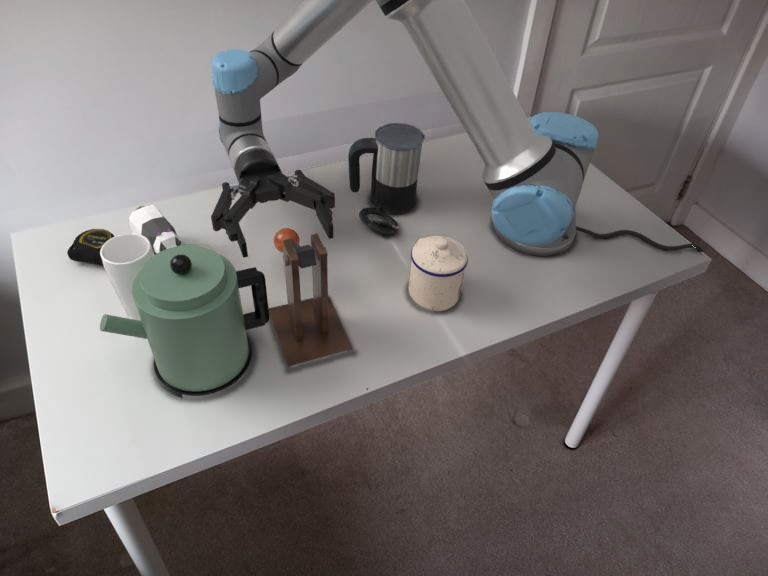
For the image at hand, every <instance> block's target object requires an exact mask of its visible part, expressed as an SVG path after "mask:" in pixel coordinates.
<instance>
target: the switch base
mask: <svg viewBox="0 0 768 576" xmlns="http://www.w3.org/2000/svg"><path fill="white" fill-rule="evenodd" d="M320 237H321V236H320V235H319V233H318V232H316V233H311V234H310V246H311V247H313V248H314V252H315V257H316V263H317V265H315V266H311V273H312V274H311V275H312V277H311V278H312V295H313V296H312V297H311V298H306V299H303V300H302V294H301V280H300V279H301V278H300V267H299V260H298V257H297V255H296V253H295V250H294V248H293V246H292V244H291V241H290V239H287V240H283V253H282V254H283V256H282V262H283V265H284V275H285V276H284V277H285V286H286V288H285V289H286V300H287V303H286V304H282V305H278V306H273V307H270V308H269V316H270V321H271V323H272V327H273V329H274V332H275V335H276V338H277V341H278V343H279V346H280V349H281V352H282V355H283V357H284V359H285V363H286V365H287V367H292V366H296V365H299V364H303V363H307V362H311V361H314V360H318V359H321V358H325V357H328V356H329V357H330V356H333V355H336V354H339V353H343V352H346V351H347V352H348V351H351V350H353V346H352V344H351V342H350V340H349V337H348V336H347V333H346V331H345V329H344V327H343V325H342V323H341V320H340V318H339V316H338V314H337V312H336V309H335V307H334V305H333V303H332V302H331V300H330V297H329V280H328V277H329V276H328V271H329V270H328V254H329V253H328V250H327V247H325V245H324V243H323V242H322V240H321V238H320Z"/></svg>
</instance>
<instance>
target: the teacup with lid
mask: <svg viewBox="0 0 768 576" xmlns="http://www.w3.org/2000/svg"><path fill="white" fill-rule="evenodd" d="M410 259H411V263H410V270H409V271H410V272H409V279H408V288H407V289H408V293H409V296H410V298H411V299H412V300H413V301H414V302H415V303H417V304H418V305H420V306H422V307H425V308H428V309H431V311H432V312H442V311H447V310H449V309H451V308H453V307H454V306H455V305H456V304H457V303H458V301H459V298H460V294H461V289H462V284H463V279H464V274H465V270H466V267H467V266H468V263H469V256H468V252H467V251H466V249H465V247H464V246H463V245H462V244H461V243H460V242H458V241H457V240H456V239H453V238H450V237H448V236H447V237H446V236H443V235H432V236H431V235H430V236H427V237H420V238H419V239H418V240H417V242H416V243H415V244H414V245H413V247H412V249H411V251H410Z"/></svg>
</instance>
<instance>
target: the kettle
mask: <svg viewBox="0 0 768 576" xmlns="http://www.w3.org/2000/svg"><path fill="white" fill-rule="evenodd" d="M247 287H250V288H251V294H252V302H253V303H252V304H253V310H254V311H250V312H246V313H244V311H243V305H242V299H241V292H240V289H242V288H247ZM132 295H133V298H134V301H135V304H136V307H137V310H138V313H139V316H140V319H141V321H139V320H134V319H129V318H128V317H122V316H117V315H112V314H106V313H104V315H102V317H101V320H100V323H99V330H100V331H101V332H104V333H109V334H115V335H122V336H128V337H134V338H140V339H146V340H147V342H148V346H149V348H150V351H151V353H152V356H153V370H154V374H155V377H156V379H157V381H158V383H159V384H160V385H161V387H162V388H163V389H164V390H165V391H166V392H168V393H169V394H171V395H173V396H175V397H178V398H181V399H183V396H189V397H201V396H208V395H213V394H215V393H219V392H221V391H223V390H226V389H228V388H230V387H231V386H233V385H234V384H235V383H237V382H238V381H240V379H241V378H242V377H243V376H244V374H246V372H247V370H248V369H249V367H250V365H251V363H252V359H253V346H252V342H251V340H250V338H249V336H248V335H247V331H249V330H252V329H257V328H260V327H264V326H266V324H268V323H269V322H270V320H271V318H270V316H269V299H268V292H267V282H266V276H265V274H264V272H262V271H260V270H258V269H257V267H256V266H254V267H249V268H245V269H241V270H236V268H235V266H234V265H233V263H232V262H231V261H230V259H228V258H227V257H225V256H224V255H222V254H220V253H217V252H216V251H215V250H214V249H213V250H212V248H208V247H205V246H202V245H197V244H184V245H183V244H182V246H176V247H172V248H169V249H166V250H163V251H161V252H159V253H157V254H156V255H154V256H153V257H152V258H150V259H149V260H148V261H147V262H146V263H145V265H144V266H143V268H142V269H141V270H140V272H139V273H138V274H137V276H136V278H135V280H134V282H133V286H132Z"/></svg>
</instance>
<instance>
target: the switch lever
mask: <svg viewBox="0 0 768 576" xmlns="http://www.w3.org/2000/svg"><path fill="white" fill-rule="evenodd" d="M287 239H290V241H291V244H292V246H293V248H294V250H295V253H296V255H297V257H298V260H299V269H305V268H311V267H312V266H315V265H317V263H316V257H315V252H314V248H313V247H311V244H305V245H301V244H300V243H301V238H300V235H299V234H298V232H297V231H296V230H295V229H293V228H290V227H283V228H280V229H279V230H278V231H276V233H275V235H274V237H273V244H274V247H275V249H276V250H277V251H278V252H279V253H282V254H284V253H283V240H287Z"/></svg>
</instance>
